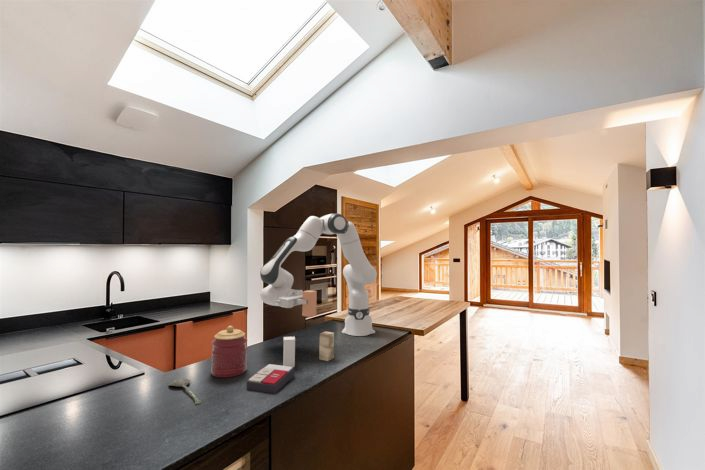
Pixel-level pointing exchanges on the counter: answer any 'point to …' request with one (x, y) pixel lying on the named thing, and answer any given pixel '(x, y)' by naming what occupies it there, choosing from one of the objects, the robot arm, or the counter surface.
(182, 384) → the grey axe
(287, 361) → the grey block
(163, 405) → the counter surface
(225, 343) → the canister
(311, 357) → the counter surface
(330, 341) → the ash block
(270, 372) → the flat patterned box
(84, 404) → the counter surface
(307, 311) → the terracotta block
